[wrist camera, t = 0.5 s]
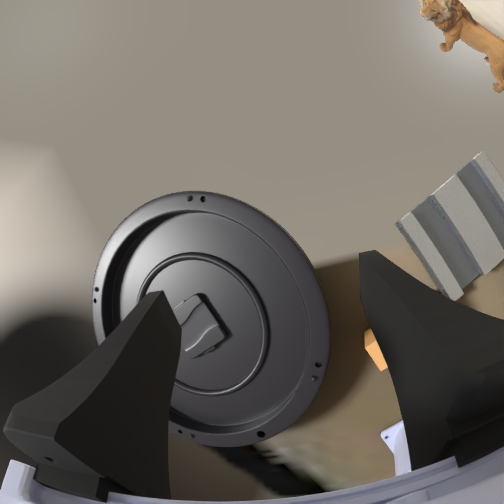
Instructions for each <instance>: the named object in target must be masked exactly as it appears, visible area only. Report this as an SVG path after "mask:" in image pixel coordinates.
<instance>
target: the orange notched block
mask: <svg viewBox="0 0 504 504" xmlns="http://www.w3.org/2000/svg"><path fill="white" fill-rule="evenodd" d="M364 336H365V349H366V350H367V352H368V353H369V355H370V356H371V357H372V359H373V360H374V362H375V363H376V365H377V366H378V368H379V369H380V371H382V370H384V369H385V368H387V367H388V366H387V364H386V362H385V359H384V357H383V355H382V352H381V350H380V348H379V346H378V343H377V341H376V339H375V337H374V334H373V332H372V330H371V328H370V329H368V330H367V331H365V332H364Z"/></svg>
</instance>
